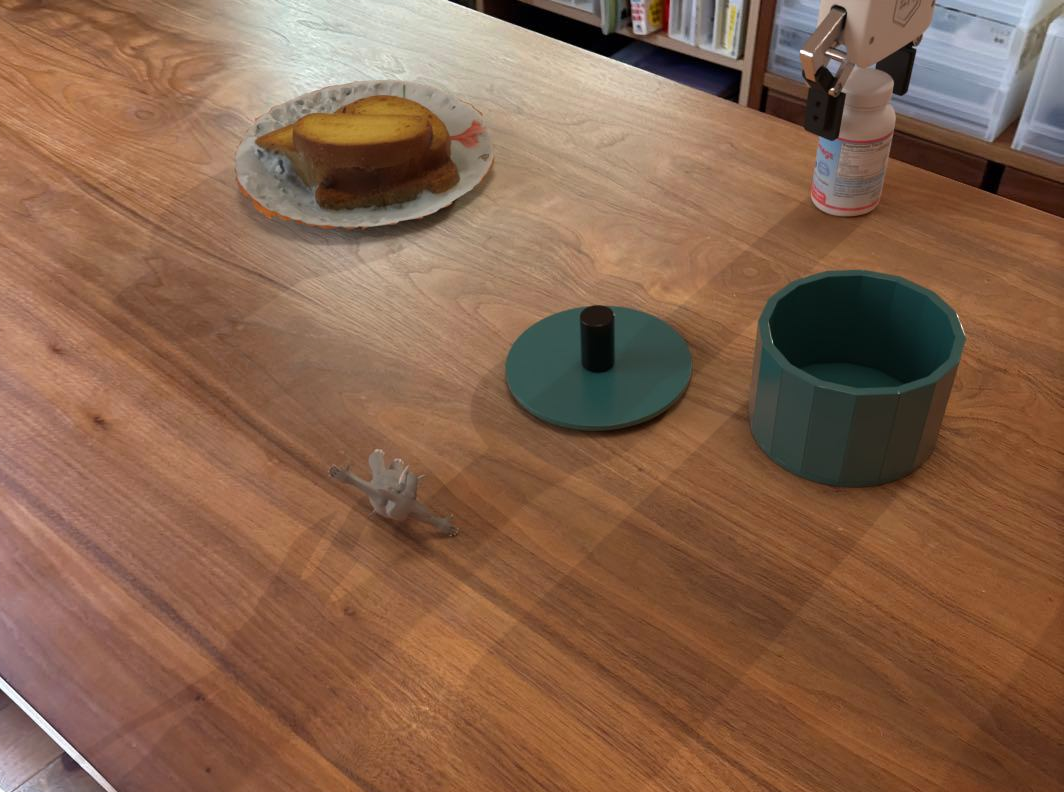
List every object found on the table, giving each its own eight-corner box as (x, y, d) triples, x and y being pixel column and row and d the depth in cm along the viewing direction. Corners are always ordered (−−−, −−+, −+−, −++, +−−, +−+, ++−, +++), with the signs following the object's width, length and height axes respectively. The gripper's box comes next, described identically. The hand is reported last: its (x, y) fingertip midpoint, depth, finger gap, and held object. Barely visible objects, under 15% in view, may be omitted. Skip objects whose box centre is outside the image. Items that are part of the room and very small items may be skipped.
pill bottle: (809, 182, 102) (825, 62, 94) (877, 183, 102) (900, 62, 93) (810, 219, 99) (828, 97, 90) (881, 220, 98) (906, 98, 89)
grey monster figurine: (465, 461, 81) (486, 513, 73) (422, 526, 83) (438, 584, 75) (344, 397, 77) (353, 444, 69) (303, 467, 79) (306, 521, 71)
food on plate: (448, 86, 119) (441, 24, 114) (535, 199, 104) (532, 134, 99) (216, 143, 114) (198, 82, 109) (271, 272, 99) (253, 207, 94)
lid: (595, 294, 93) (594, 236, 89) (729, 368, 86) (735, 309, 82) (468, 377, 87) (461, 320, 83) (601, 465, 80) (600, 407, 76)
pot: (821, 339, 88) (837, 247, 81) (974, 417, 81) (1004, 323, 74) (711, 425, 82) (718, 333, 76) (864, 516, 75) (887, 424, 69)
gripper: (869, -59, 75) (830, 169, 88) (1006, -133, 83) (951, 87, 96) (780, -86, 79) (755, 137, 92) (919, -154, 87) (877, 61, 99)
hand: (855, 111), depth 94 cm, fingers open, 9 cm apart
